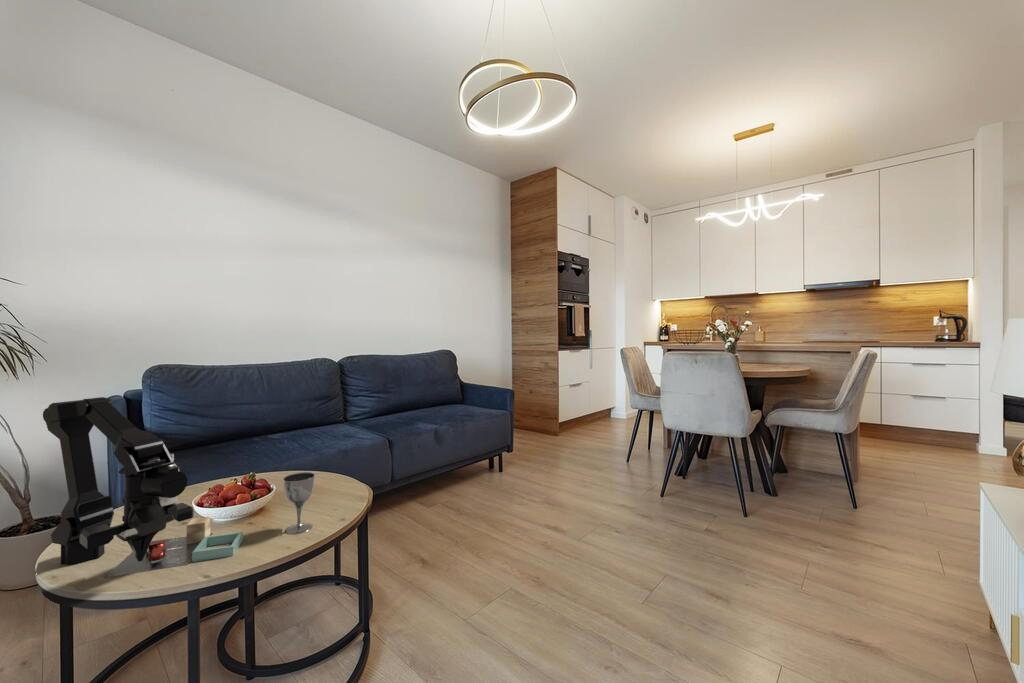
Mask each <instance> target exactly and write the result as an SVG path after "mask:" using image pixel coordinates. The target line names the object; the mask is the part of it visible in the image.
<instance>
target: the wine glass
mask: <svg viewBox="0 0 1024 683" xmlns="http://www.w3.org/2000/svg"><path fill="white" fill-rule="evenodd" d="M282 481H283V492H284V497H285V499H286V500H287V501H288V502H289V503H290V504H292V505H293V507H294V508H295V510H296V518H297V523H296V524H292V525H290V526H288V527H286V528H285V530H284V533H285V535H301V534H303V533H306V532H308V531H310V530H312V529H313V524H311V523H309V522H302V523H301V516H302V515H301V514H302V509H303V506H304V505H305V504H306V502H308V501H309V499H310V497H311V496H312V495H313V492H314V486H315V473H313V472H309V471H307V472H305V471H303V472H295V473H291V474H288V475H286V476H285V477H283V480H282Z"/></svg>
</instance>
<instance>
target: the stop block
mask: <svg viewBox="0 0 1024 683" xmlns="http://www.w3.org/2000/svg"><path fill="white" fill-rule="evenodd" d="M210 533H211V516H205V517H197V518H196V517H195V518H191V519H190V521H189V522H188V523H187V524H186V536H185V537H186V544H191V543H199V542H201V541H202V540H203V539H204V538H205V537H207V536H210Z"/></svg>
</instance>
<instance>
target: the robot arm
mask: <svg viewBox="0 0 1024 683" xmlns="http://www.w3.org/2000/svg"><path fill="white" fill-rule="evenodd" d="M42 418H43V420H44V422H45V425H46V428H47V431H48V432H50V433H51V434H52V435H53V436H54V437H56V438H57V439H58V440H59V443H60V450H61V456H62V462H63V468H64V473H65V474H64V475H65V480H66V481H65V482H66V486H67V487H66V488H67V493H68V500H67V501H66V504H65V506H64V507H63V509H62V511H61V512H60V515H61V518H60V519H61V521H60V522H59V524H58V525H57V526H56V528H55V529H54V530H53V531H52V533H50V536H51V541H52V544H56V545H60V565H66V566H74V565H80V564H83V563H86V562H89V561H93V560H94V561H95V560H98V559H99V558H101V557H102V556H103V555H104V554H105V545H108V544H110V542H111V541H113V540H114V537H115V536H116V537H117V538H119V539H120V540H121V541H122V542H127V544H128V545H129V547H130V549H131V551H132V552H133V553H134V555H135V557H136V558H137V560H138V561H139V562H140V561H142V560H143V558H144V556H145V554H146V551H147V549H148V547H149V544H150V542H151V541H153V538H154V537H155V536H156V535H157V534H158V533H159V532H161V531H163V530H165V529H166V527H167V524H168V523H169V521H170V522H172V520H173V521H177V522H179V523H180V522H183V521H187V520H189V519H190V520H192V519H194V512H195V511H194V507H193V506H191V505H189V504H186V503H184V502H181V503H179V502H178V504H175V503H173V504H169V505H165V506H161V504H160V499H159V497H165V498H174V497H176V496H177V497H178V496H180V495H181V494H182V493H183V492H184V491H185V489H186V487H187V485H188V481H189V480H188V477H187V475H186V474H185V473H184V472H182V471H178V468H179V466H178V465H177V466H169V465H173V464H174V463H175V462H174V461H175V460H174V461H173V459H172V455H171V454H170V451H169V450H168V448H167V447H166V445H165V443H164V441H163V440H162V438H160V437H159V436H158V435H156V434H154V433H153V432H151V431H147V430H142V429H139V428H138V427H136V426H135V425H134V424H133V423H132V422H131V421H130V420H129V419H127V417H125V415H123V414H122V413H121V412H120V411H119V410H118V409H117V408H116V407H115V406H114V405H113V404H112V400H111V399H110V398H108V397H105V396H100V397H90V398H83V399H77V400H69V401H67V400H66V401H60V402H52V403H50V404H48V406H47V408H45V409H43V412H42ZM94 426H95V427H96V428H97V429H98V430H99V431H100V432H101V433H102V435H103V436H105V437H106V438H107V439H108V440H109V441H110V442H111V443H112V444H113V446H114V450H113V455H114V456H115V458H116V459H117V461H118V463H119V464H121V466H122V468H121V469H119V471H118V474H120V475H124V485H123V486H124V489H123V491H124V493H123V496H124V497H123V498H122V504H123V515H122V522H123V523H122V524H119V525H115V526H111V525H112V522H113V519H114V515H115V511H114V508H113V504H112V497H111V496H110V495H104V494H103V493H101V492H100V491H99V489H98V488H99V487H98V482H97V477H96V476H97V475H96V470H95V464H94V458H93V451H92V445H91V440H90V438H91V437H90V432H91V431H92V430H93V427H94ZM158 459H160V460H159V461H158ZM174 519H175V520H174Z"/></svg>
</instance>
